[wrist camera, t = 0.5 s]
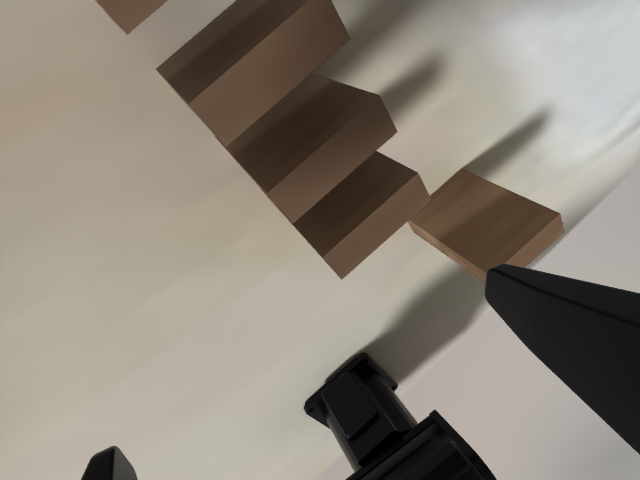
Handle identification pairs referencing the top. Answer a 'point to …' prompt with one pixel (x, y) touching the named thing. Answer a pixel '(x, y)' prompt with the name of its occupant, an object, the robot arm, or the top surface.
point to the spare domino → (485, 224)
